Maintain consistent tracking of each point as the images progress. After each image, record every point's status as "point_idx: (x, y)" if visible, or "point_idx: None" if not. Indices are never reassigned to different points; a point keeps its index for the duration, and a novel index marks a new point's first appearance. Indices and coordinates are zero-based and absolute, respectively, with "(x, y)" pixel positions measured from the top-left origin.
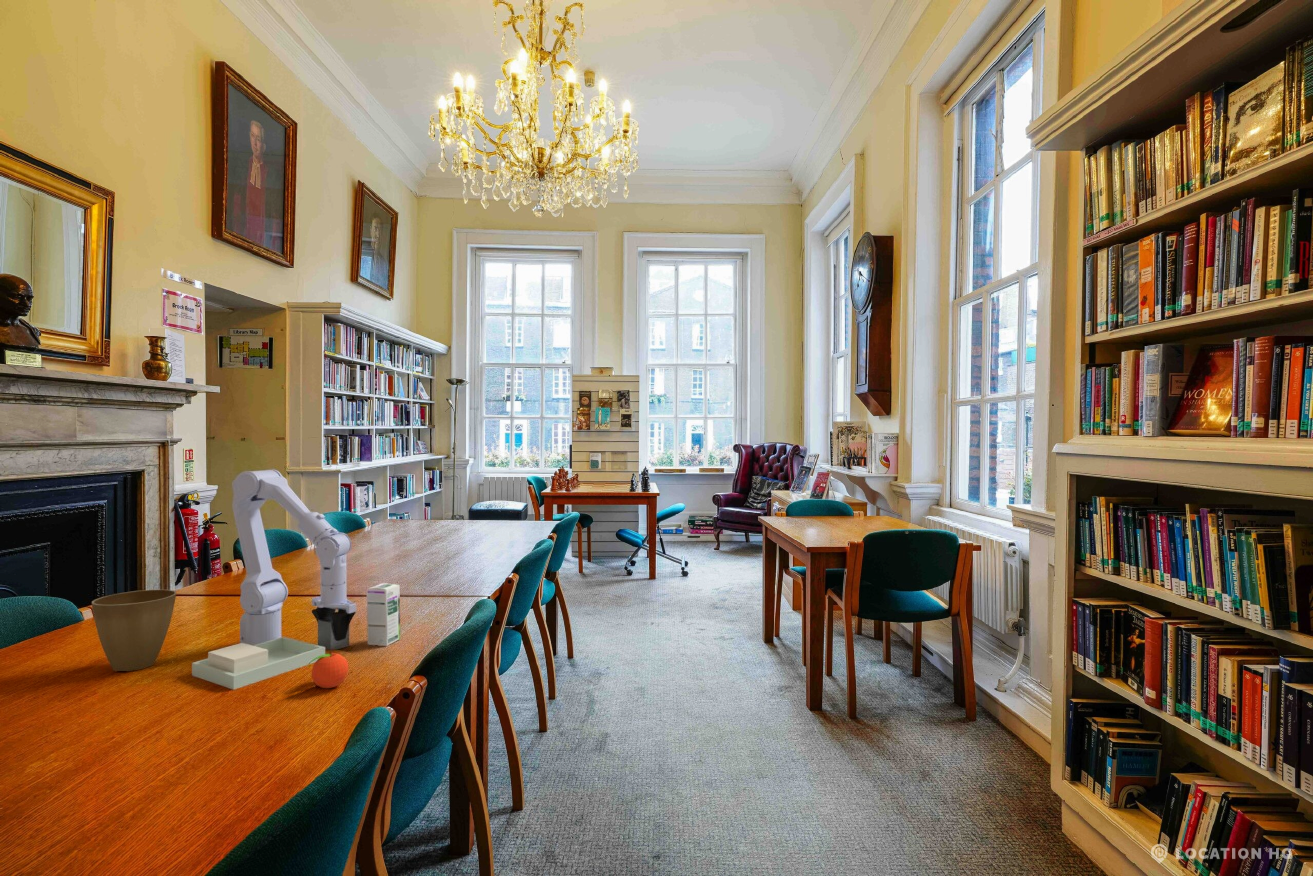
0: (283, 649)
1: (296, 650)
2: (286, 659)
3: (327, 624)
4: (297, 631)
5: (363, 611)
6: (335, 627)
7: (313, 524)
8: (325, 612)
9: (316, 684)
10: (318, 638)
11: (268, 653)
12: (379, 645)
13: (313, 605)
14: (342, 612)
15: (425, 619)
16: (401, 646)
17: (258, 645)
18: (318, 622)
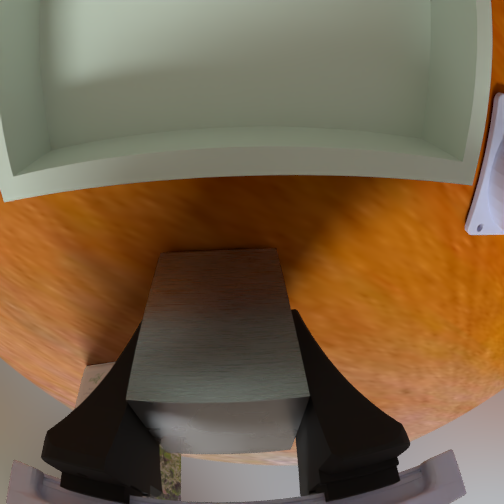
0: (413, 136)
1: (289, 129)
2: None
3: (172, 384)
4: (493, 303)
5: (412, 418)
6: (122, 377)
7: None
8: (311, 458)
9: None
10: (277, 286)
11: (429, 58)
12: (107, 364)
13: (437, 459)
14: (74, 477)
15: (234, 455)
16: (62, 374)
17: (474, 4)
18: (297, 379)
